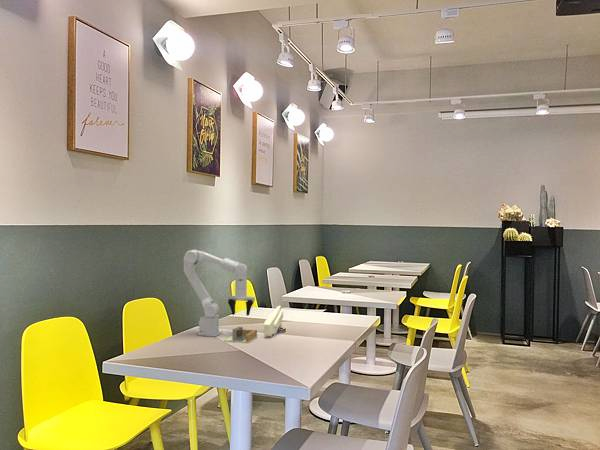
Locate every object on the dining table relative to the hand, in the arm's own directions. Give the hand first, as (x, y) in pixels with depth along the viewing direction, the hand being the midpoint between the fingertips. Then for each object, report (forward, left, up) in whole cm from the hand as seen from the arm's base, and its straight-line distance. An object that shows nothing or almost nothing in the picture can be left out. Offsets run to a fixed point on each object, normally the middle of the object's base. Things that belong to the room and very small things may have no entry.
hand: (240, 314), depth 253 cm
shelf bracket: (+15, +9, -10) cm, 20 cm away
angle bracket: (+5, -12, -9) cm, 16 cm away
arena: (+4, -10, -10) cm, 15 cm away
